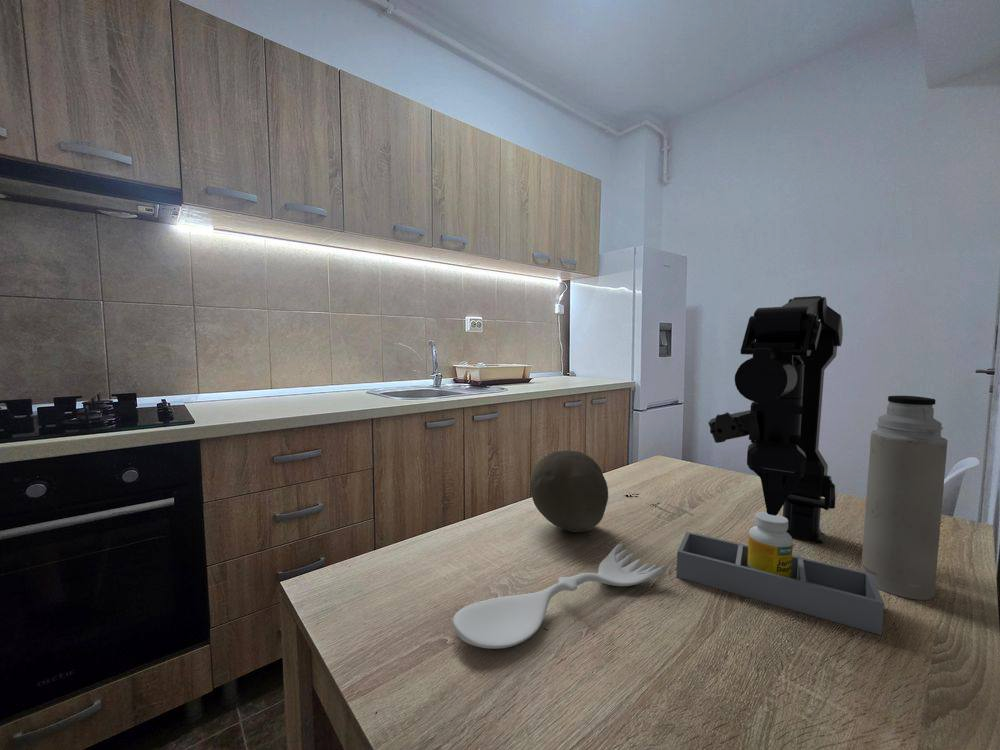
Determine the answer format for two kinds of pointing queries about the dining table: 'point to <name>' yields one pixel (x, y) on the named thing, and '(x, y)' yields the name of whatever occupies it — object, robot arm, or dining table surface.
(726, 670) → the dining table surface
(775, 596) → the slot holder
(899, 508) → the thermos bottle
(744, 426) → the robot arm
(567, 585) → the spoon
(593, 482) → the brown coconut
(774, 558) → the supplement bottle
